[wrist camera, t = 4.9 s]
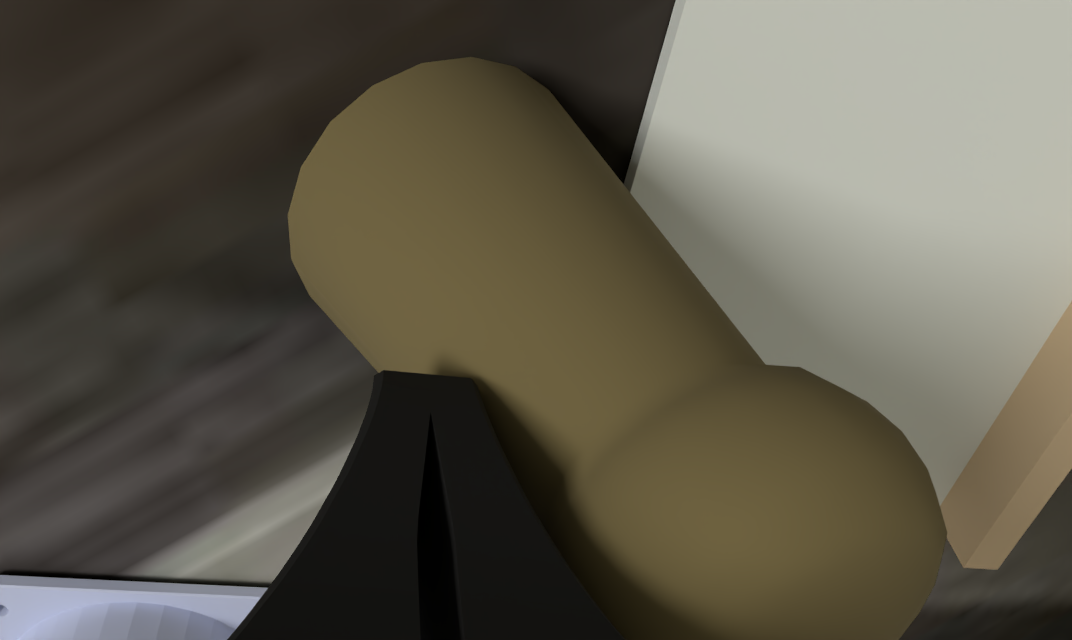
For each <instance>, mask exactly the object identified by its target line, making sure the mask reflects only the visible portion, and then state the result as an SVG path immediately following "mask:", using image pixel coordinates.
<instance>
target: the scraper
mask: <svg viewBox="0 0 1072 640" xmlns="http://www.w3.org/2000/svg"><path fill="white" fill-rule="evenodd" d="M624 186H625V187H626V188H627V190H628V191H629V192H630V193H631V195H632V196H633V197H634V198H635V200H636V201H637V202H638V203H639V205H640V206H641V207H642V209H643V210H644V211H645V212H646V214H647V215H648V216H649V217H650V219H651V220H652V221H653V222H654V224H655V225H656V226H657V228H658V229H659V230H660V231H661V233H662V234H663V235H664V236H665V238H666V239H667V240H668V241H669V243H670V244H671V245H672V247H673V248H674V249H675V250H676V252H677V253H678V254H679V255H680V257H681V258H682V259H683V260H684V262H685V263H686V264H687V266H688V267H689V268H690V269H691V271H692V272H693V273H694V274H695V276H696V277H697V278H698V279H699V281H700V282H701V283H702V285H703V286H704V287H705V288H706V290H707V291H708V292H709V293H710V295H711V296H712V297H713V298H714V300H715V301H716V302H717V304H718V305H719V306H720V307H721V309H722V310H723V311H724V312H725V314H726V315H727V316H728V317H729V319H730V320H731V321H732V323H733V324H734V325H735V326H736V328H737V329H738V330H739V331H740V333H741V334H742V335H743V336H744V338H745V339H746V340H747V342H748V343H749V344H750V345H751V347H752V348H753V349H754V350H755V352H756V353H757V354H758V355H759V357H760V358H761V359H762V361H763V362H764V363H765V364H766V365H778V366H792V367H801V368H803V369H805V370H807V371H809V372H811V373H813V374H815V375H817V376H819V377H821V378H823V379H825V380H827V381H829V382H831V383H833V384H835V385H837V386H839V387H841V388H843V389H845V390H846V391H848V392H850V393H852V394H854V395H856V396H858V397H860V398H861V399H863V400H865V401H867V402H868V403H870V404H871V405H872V406H873V407H874V408H875V409H877V410H878V411H879V412H880V413H881V414H882V415H884V416H885V417H886V418H887V419H888V420H890V421H891V422H892V423H893V424H894V425H895V426H897V427H898V428H899V429H900V430H901V431H902V432H903V433H904V435H905V436H906V438H907V439H908V441H909V442H910V444H911V445H912V447H913V448H914V449H915V451H916V452H917V454H918V455H919V457H920V458H921V460H922V461H923V463H924V464H925V466H926V467H927V469H928V471H929V474H930V477H931V480H932V483H933V485H934V488H935V491H936V494H937V498H938V501H939V505H940V508H941V512H942V515H943V519H944V522H945V526H946V529H947V532H948V533H947V539H948V541H949V543H950V544H951V546H952V548H953V550H954V552H955V553H956V555H957V557H958V559H959V561H960V562H961V564H962V566H963V568H977V569H994V570H998V568H999V567H1000V566H1001V564H1002V563H1003V561H1004V560H1005V559H1006V557H1007V556H1008V555H1009V553H1010V552H1011V550H1012V549H1013V548H1014V546H1015V545H1016V544H1017V542H1018V541H1019V540H1020V538H1021V537H1022V535H1023V534H1024V533H1025V531H1026V530H1027V529H1028V527H1029V526H1030V525H1031V523H1032V522H1033V520H1034V519H1035V518H1036V516H1037V515H1038V514H1039V512H1040V511H1041V510H1042V508H1043V507H1044V505H1045V504H1046V503H1047V501H1048V500H1049V499H1050V497H1051V496H1052V495H1053V493H1054V492H1055V490H1056V489H1057V488H1058V486H1059V485H1060V484H1061V482H1062V481H1063V480H1064V478H1065V477H1066V475H1067V474H1068V473H1069V471H1070V470H1071V469H1072V0H676V1H675V5H674V8H673V12H672V15H671V19H670V23H669V26H668V30H667V33H666V37H665V40H664V44H663V47H662V51H661V54H660V58H659V61H658V65H657V68H656V72H655V75H654V79H653V82H652V86H651V90H650V93H649V97H648V100H647V104H646V107H645V111H644V114H643V118H642V121H641V125H640V128H639V132H638V135H637V139H636V142H635V146H634V149H633V153H632V156H631V160H630V164H629V167H628V171H627V174H626V178H625V181H624Z"/></svg>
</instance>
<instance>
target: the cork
mask: <svg viewBox="0 0 1072 640" xmlns="http://www.w3.org/2000/svg"><path fill="white" fill-rule="evenodd" d="M288 224H289V236H290V249H291V260H292V262H293V264H294V266H295V268H296V270H297V272H298V274H299V276H300V277H301V279H302V281H303V283H304V285H305V287H306V289H307V291H308V293H309V295H310V296H311V298H312V299H313V300H314V301H315V302H316V303H317V304H318V305H319V307H320V308H321V309H322V310H323V311H324V312H325V313H326V314H327V316H328V317H329V318H330V319H331V320H332V321H333V322H334V323H335V324H336V326H337V327H338V328H339V329H340V330H341V331H342V332H343V333H344V335H345V336H346V337H347V338H348V339H349V340H350V341H351V342H352V344H353V345H354V346H355V347H356V348H357V349H358V350H359V351H360V352H361V354H362V355H363V356H364V357H365V358H366V359H367V360H368V361H369V363H370V364H371V365H372V366H373V367H374V368H375V369H376V370H377V371H378V373H380V372H381V371H383V370H389V371H400V372H411V373H422V374H433V375H444V376H455V377H466V378H471V379H472V380H473V381H474V382H475V383H476V384H477V386H478V389H479V392H480V395H481V398H482V401H483V404H484V407H485V409H486V412H487V414H488V417H489V419H490V422H491V424H492V427H493V429H494V431H495V434H496V436H497V438H498V440H499V443H500V445H501V447H502V449H503V451H504V454H505V456H506V458H507V460H508V462H509V464H510V466H511V468H512V470H513V472H514V474H515V476H516V478H517V479H518V481H519V483H520V485H521V487H522V489H523V491H524V493H525V495H526V497H527V499H528V500H529V502H530V504H531V506H532V508H533V509H534V511H535V513H536V515H537V516H538V518H539V520H540V521H541V523H542V525H543V526H544V528H545V530H546V531H547V533H548V535H549V536H550V538H551V540H552V541H553V543H554V544H555V546H556V547H557V549H558V551H559V552H560V554H561V555H562V557H563V558H564V560H565V561H566V563H567V564H568V566H569V567H570V569H571V570H572V571H573V573H574V574H575V576H576V577H577V578H578V580H579V581H580V583H581V584H582V585H583V587H584V588H585V590H586V591H587V592H588V594H589V595H590V596H591V598H592V599H593V600H594V602H595V603H596V604H597V605H598V607H599V608H600V609H601V610H602V612H603V613H604V614H605V616H606V617H607V618H608V619H609V621H610V622H611V623H612V625H613V626H614V627H615V628H616V629H617V630H618V632H619V633H620V634H621V635H622V636H623V637H624V638H625V639H626V640H899V638H900V637H901V636H902V635H903V633H904V632H905V631H906V629H907V628H908V627H909V626H910V624H911V623H912V622H913V620H914V619H915V618H916V617H917V615H918V614H919V613H920V611H921V609H922V607H923V605H924V604H925V602H926V600H927V598H928V596H929V594H930V593H931V591H932V589H933V587H934V585H935V582H936V578H937V574H938V571H939V567H940V563H941V559H942V554H943V550H944V546H945V541H946V537H947V533H948V532H947V529H946V526H945V522H944V519H943V515H942V512H941V508H940V505H939V501H938V498H937V494H936V491H935V488H934V485H933V483H932V480H931V477H930V474H929V471H928V469H927V467H926V466H925V464H924V463H923V461H922V460H921V458H920V457H919V455H918V454H917V452H916V451H915V449H914V448H913V447H912V445H911V444H910V442H909V441H908V439H907V438H906V436H905V435H904V433H903V432H902V431H901V430H900V429H899V428H898V427H897V426H895V425H894V424H893V423H892V422H891V421H890V420H888V419H887V418H886V417H885V416H884V415H882V414H881V413H880V412H879V411H878V410H877V409H875V408H874V407H873V406H872V405H871V404H870V403H868V402H867V401H865V400H863V399H861V398H860V397H858V396H856V395H854V394H852V393H850V392H848V391H846V390H845V389H843V388H841V387H839V386H837V385H835V384H833V383H831V382H829V381H827V380H825V379H823V378H821V377H819V376H817V375H815V374H813V373H811V372H809V371H807V370H805V369H803V368H801V367H792V366H778V365H766V364H765V363H764V362H763V361H762V359H761V358H760V357H759V355H758V354H757V353H756V352H755V350H754V349H753V348H752V347H751V345H750V344H749V343H748V342H747V340H746V339H745V338H744V336H743V335H742V334H741V333H740V331H739V330H738V329H737V328H736V326H735V325H734V324H733V323H732V321H731V320H730V319H729V317H728V316H727V315H726V314H725V312H724V311H723V310H722V309H721V307H720V306H719V305H718V304H717V302H716V301H715V300H714V298H713V297H712V296H711V295H710V293H709V292H708V291H707V290H706V288H705V287H704V286H703V285H702V283H701V282H700V281H699V279H698V278H697V277H696V276H695V274H694V273H693V272H692V271H691V269H690V268H689V267H688V266H687V264H686V263H685V262H684V260H683V259H682V258H681V257H680V255H679V254H678V253H677V252H676V250H675V249H674V248H673V247H672V245H671V244H670V243H669V241H668V240H667V239H666V238H665V236H664V235H663V234H662V233H661V231H660V230H659V229H658V228H657V226H656V225H655V224H654V222H653V221H652V220H651V219H650V217H649V216H648V215H647V214H646V212H645V211H644V210H643V209H642V207H641V206H640V205H639V203H638V202H637V201H636V200H635V198H634V197H633V196H632V195H631V193H630V192H629V191H628V190H627V188H626V187H625V186H624V184H623V183H622V182H621V181H620V179H619V178H618V177H617V176H616V174H615V173H614V172H613V171H612V169H611V168H610V167H609V165H608V164H607V163H606V162H605V160H604V159H603V158H602V157H601V155H600V154H599V153H598V152H597V150H596V149H595V148H594V146H593V145H592V144H591V143H590V141H589V140H588V139H587V138H586V136H585V135H584V134H583V133H582V131H581V130H580V129H579V127H578V126H577V125H576V124H575V122H574V121H573V120H572V119H571V117H570V116H569V115H568V114H567V112H566V111H565V110H564V108H563V107H562V106H561V105H560V103H559V102H558V101H557V100H556V98H555V97H554V96H553V95H552V93H551V92H550V91H549V90H548V89H547V88H545V87H544V86H543V85H541V84H540V83H538V82H537V81H535V80H534V79H532V78H531V77H530V76H528V75H527V74H525V73H524V72H522V71H521V70H519V69H518V68H517V67H515V66H510V65H506V64H501V63H497V62H492V61H488V60H483V59H479V58H474V57H467V58H459V59H451V60H442V61H434V62H426V63H421V64H419V65H417V66H414V67H412V68H410V69H408V70H406V71H403V72H401V73H399V74H397V75H395V76H392V77H390V78H388V79H386V80H384V81H381V82H379V83H377V84H375V85H373V86H371V87H370V88H369V89H368V90H367V91H366V92H365V93H363V94H362V95H361V96H360V97H359V98H358V99H356V100H355V101H354V102H353V103H352V104H351V105H349V106H348V107H347V108H346V109H345V110H344V111H342V112H341V113H340V114H339V115H338V116H337V117H335V118H334V119H333V120H332V121H331V122H330V123H329V125H328V126H327V128H326V129H325V131H324V132H323V134H322V136H321V137H320V139H319V140H318V142H317V143H316V145H315V146H314V148H313V149H312V151H311V152H310V154H309V156H308V157H307V159H306V160H305V162H304V163H303V165H302V166H301V169H300V173H299V176H298V180H297V183H296V187H295V191H294V194H293V198H292V202H291V205H290V209H289V212H288Z"/></svg>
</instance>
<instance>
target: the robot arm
mask: <svg viewBox="0 0 1072 640" xmlns="http://www.w3.org/2000/svg"><path fill="white" fill-rule="evenodd" d="M0 640H626V639H625V638H624V637H623V636H622V635H621V634H620V633H619V632H618V630H617V629H616V628H615V627H614V626H613V625H612V623H611V622H610V621H609V619H608V618H607V617H606V616H605V614H604V613H603V612H602V610H601V609H600V608H599V607H598V605H597V604H596V603H595V602H594V600H593V599H592V598H591V596H590V595H589V594H588V592H587V591H586V590H585V588H584V587H583V585H582V584H581V583H580V581H579V580H578V578H577V577H576V576H575V574H574V573H573V571H572V570H571V569H570V567H569V566H568V564H567V563H566V561H565V560H564V558H563V557H562V555H561V554H560V552H559V551H558V549H557V547H556V546H555V544H554V543H553V541H552V540H551V538H550V536H549V535H548V533H547V531H546V530H545V528H544V526H543V525H542V523H541V521H540V520H539V518H538V516H537V515H536V513H535V511H534V509H533V508H532V506H531V504H530V502H529V500H528V499H527V497H526V495H525V493H524V491H523V489H522V487H521V485H520V483H519V481H518V479H517V478H516V476H515V474H514V472H513V470H512V468H511V466H510V464H509V462H508V460H507V458H506V456H505V454H504V451H503V449H502V447H501V445H500V443H499V440H498V438H497V436H496V434H495V431H494V429H493V427H492V424H491V422H490V419H489V417H488V414H487V412H486V409H485V407H484V404H483V401H482V398H481V395H480V392H479V389H478V386H477V384H476V383H475V382H474V381H473V380H472V379H471V378H466V377H455V376H444V375H433V374H422V373H411V372H400V371H389V370H383V371H381V372H380V373H378V374H376V375H375V376H374V382H373V390H372V394H371V398H370V402H369V406H368V409H367V412H366V415H365V418H364V420H363V423H362V425H361V428H360V431H359V433H358V436H357V438H356V440H355V443H354V445H353V447H352V449H351V451H350V453H349V455H348V458H347V460H346V462H345V464H344V466H343V468H342V470H341V472H340V474H339V476H338V478H337V480H336V482H335V484H334V486H333V488H332V489H331V491H330V493H329V495H328V496H327V498H326V500H325V502H324V503H323V505H322V507H321V509H320V510H319V512H318V514H317V516H316V517H315V519H314V521H313V523H312V524H311V526H310V528H309V529H308V531H307V532H306V534H305V535H304V537H303V539H302V540H301V542H300V543H299V545H298V546H297V548H296V549H295V551H294V552H293V554H292V555H291V557H290V558H289V560H288V561H287V563H286V564H285V565H284V567H283V568H282V570H281V571H280V573H279V574H278V575H277V577H276V578H275V580H274V581H273V582H272V584H271V585H270V586H269V588H264V587H244V586H223V585H202V584H182V583H161V582H140V581H119V580H99V579H78V578H57V577H36V576H16V575H0Z"/></svg>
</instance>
